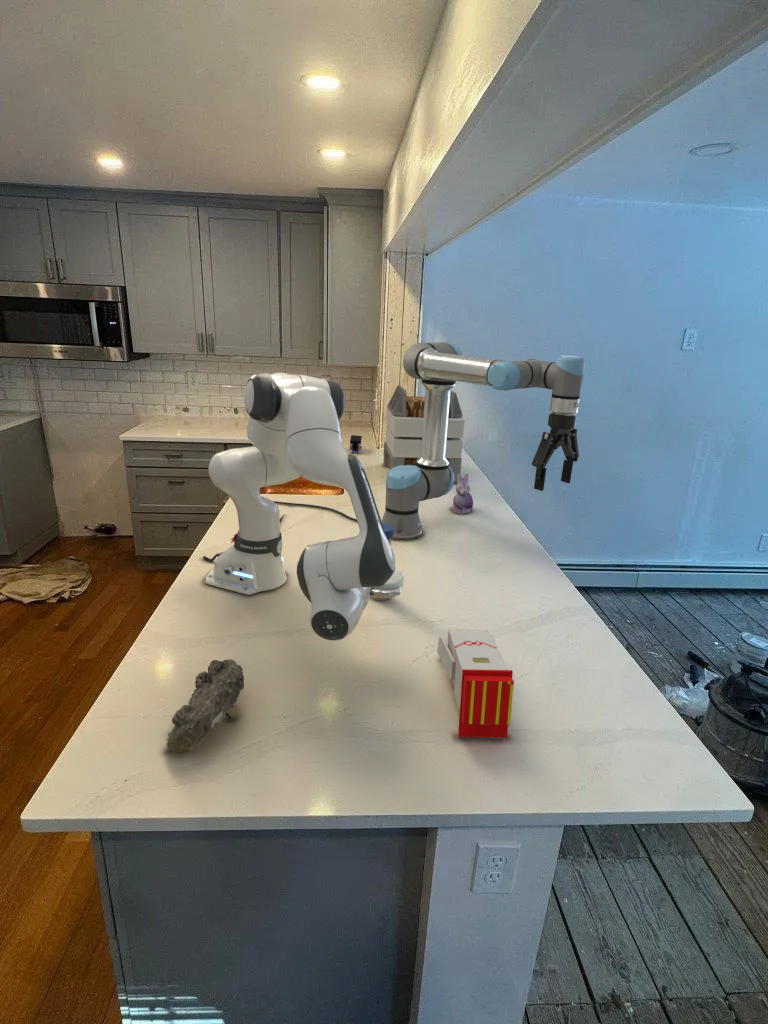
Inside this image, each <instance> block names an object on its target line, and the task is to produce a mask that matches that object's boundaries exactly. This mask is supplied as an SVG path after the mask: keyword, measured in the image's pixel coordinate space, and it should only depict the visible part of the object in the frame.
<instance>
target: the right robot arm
mask: <svg viewBox="0 0 768 1024" xmlns="http://www.w3.org/2000/svg"><path fill="white" fill-rule="evenodd" d="M585 365H586V360H585V358H584V357H582V356H578V355H566V354H565V355H564V354H563V355H558V356H557V357H556V360H555V361H549V360H541V359H536V358H524V359H521V360H506V359H505V360H504V359H503V360H502V359H496V358H487V357H479V356H471V355H464V354H463V352H462V350H461V349H460V347H459V346H457V345H456V344H455V343H451V342H445V341H443V342H442V341H441V342H440V341H439V342H438V341H437V342H417V343H414V344H412V345H411V346H409V347H408V348H407V350H406V351H405V353H404V355H403V358H402V366H403V369H404V372H405V373H406V374H407V375H408V376H409V377H411V378H412V379H415V380H421V385H422V386H423V387H424V389H425V392H424V397H425V404H424V419H423V434H422V449H421V457H420V458H418V459H417V461H416V466H413V465H401V466H396V467H394V468H392V469H390V468H389V470H388V472H387V474H386V479H385V504H384V505H385V507H384V508H385V509H384V513H383V515H382V519H381V522H382V524H387V525H390V526H392V527H393V537H392V538H391V540H395V541H410V540H415V539H418V538H420V537H421V536H422V535H423V525H422V523H421V518H420V515H419V507H420V506H419V505H420V502H423V501H427V500H431V499H437V498H440V497H443V496H446V495H448V493H450V492H451V490H452V489H453V488H454V487H453V486H454V484H455V483H454V473H452V469H451V467H450V466H449V462H448V461H447V459H446V458H445V453H446V441H447V428H448V416H449V404H450V392H451V391H452V389H453V388H454V387H455V386H456V384H457V382H461V383H465V384H473V385H479V386H487V387H491V388H492V389H494V390H496V391H503V392H504V391H511V390H520V389H532V388H533V389H534V388H539V389H546V390H551V398H550V404H549V413H548V418H547V419H548V420H547V426H548V427H549V428H550V431H549V432H548V431H543V432H542V435H541V440H540V442H539V445H538V447H537V449H536V452H535V454H534V457H533V460H532V461H531V466H533V467H535V475H534V477H535V478H534V485H533V489H534V490H537V491H539V492H543V491H544V489H545V484H546V483H545V482H546V476H547V468H546V466H547V465H548V463H549V461H550V459H551V457H552V456H553V454H554V453H555V451H556V450H557V449H558V448H560V447H561V449H562V452H563V455H564V458H565V459H563V463H562V468H561V469H562V470H561V475H560V482H562V483H566V484H571V478H572V472H573V466H574V463H576V462H578V461H579V457H580V453H579V444H578V428H576V423H577V419H578V416H577V414H578V412H579V411H578V410H579V406H580V397H581V391H582V385H583V380H584V376H585ZM272 501H273V502H275V503H276V505H277V504H279V505H287V506H299V507H308V508H309V507H310V508H317V509H323V510H327V511H331V512H334V513H337V514H339V515H341V516H343V517H345V518H346V519H349V520H351V521H354V522H357V519H356V518H354V517H352V516H349V515H347V514H345V513H343V512H342V511H339V510H338V509H337V510H336V509H334V508H330V507H326V506H322V505H316V504H307V503H297V502H296V503H295V502H287V501H285V502H284V501H276V500H272Z"/></svg>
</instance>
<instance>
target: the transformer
mask: <svg viewBox="0 0 768 1024" xmlns="http://www.w3.org/2000/svg"><path fill="white" fill-rule="evenodd" d="M407 394H408V393H407V390H406V389H404V388H403V387H402V385H399V384H398V385H397V386H396V388H395V390H394V392H393V394H392V395H391V398H390V400H389V402H388V404H387V405H386V413H385V414H386V415H385V423H386V428H385V438H384V442H383V466H384V467H388V468H389V470H390V469H392V468H394V467H396V466H401V465H404V466H405V465H413V466H416V461H417V459H418V458H420V457H421V449H422V434H423V419H424V404H425V396H415V395H414V396H413V395H412V396H411V395H407ZM464 429H465V419H464V418H463V411H462V408H461V405H460V402H459V398H458V395H457V392H455V391H453V390H451V392H450V404H449V416H448V428H447V441H446V453H445V458H446V459H447V461H448V462H449V466H450V467H451V469H452V473H454V484H455V483H456V484H458V478H457V475H458V474H460V475H461V472H462V461H463V460H462V453H463V442H464V441H463V440H462V439H463V438H464V431H465V430H464Z"/></svg>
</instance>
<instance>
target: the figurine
mask: <svg viewBox="0 0 768 1024" xmlns="http://www.w3.org/2000/svg"><path fill="white" fill-rule="evenodd" d="M457 478H458V483H456V487H455V491H456V494H455V495H454V496H453V499H452V507H451V509H452V511H453V512H454V513H455V514H460V515H464V514H469V513H471V512H472V511H473V507H474V499H473V496H472V495H471V493H470V491H471V487H470V484H469V482H468V480H469V473H465V474H464V476H463V477H462V475H461V474H458V475H457Z"/></svg>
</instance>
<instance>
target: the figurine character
mask: <svg viewBox="0 0 768 1024" xmlns="http://www.w3.org/2000/svg"><path fill="white" fill-rule="evenodd" d="M362 439H363V436H362V435H353V434H351V435H350V440H349V451H351V454H353V453H357V454H359V451H361V449H362V448H363V446H362Z"/></svg>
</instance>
